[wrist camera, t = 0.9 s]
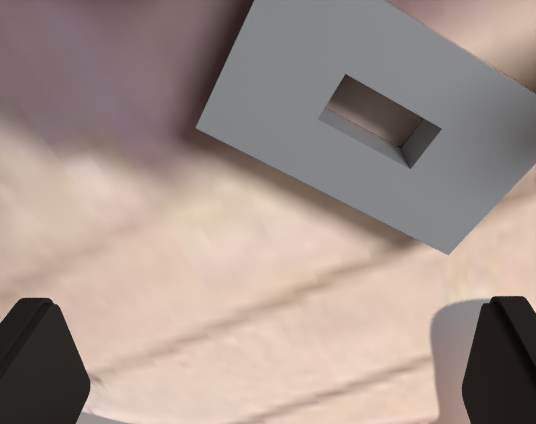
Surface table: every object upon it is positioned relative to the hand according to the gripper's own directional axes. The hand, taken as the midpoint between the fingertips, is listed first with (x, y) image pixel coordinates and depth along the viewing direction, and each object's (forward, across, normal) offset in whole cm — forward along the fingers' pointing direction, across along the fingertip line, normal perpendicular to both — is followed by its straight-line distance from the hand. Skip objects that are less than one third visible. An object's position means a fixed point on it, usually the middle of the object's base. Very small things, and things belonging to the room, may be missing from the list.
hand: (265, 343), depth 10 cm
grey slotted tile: (+29, -6, +4) cm, 30 cm away
